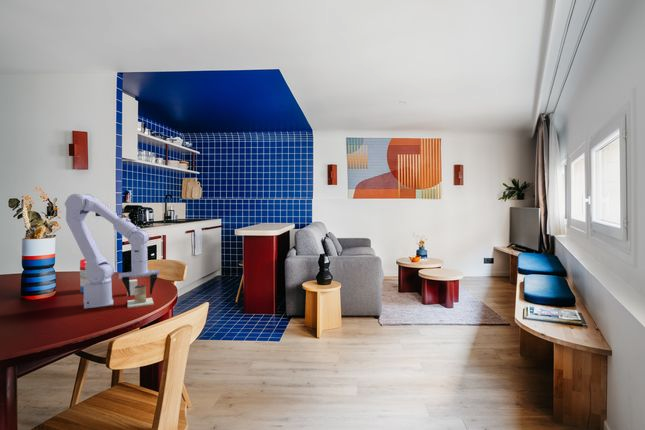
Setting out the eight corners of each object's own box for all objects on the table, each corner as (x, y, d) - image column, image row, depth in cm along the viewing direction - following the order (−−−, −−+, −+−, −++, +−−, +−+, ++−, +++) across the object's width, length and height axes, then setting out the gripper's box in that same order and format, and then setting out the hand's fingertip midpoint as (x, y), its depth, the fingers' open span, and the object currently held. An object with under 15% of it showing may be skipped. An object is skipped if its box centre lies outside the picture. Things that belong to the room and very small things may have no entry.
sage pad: (127, 307, 138) (127, 306, 138) (127, 302, 146) (127, 300, 146) (153, 304, 142) (153, 303, 142) (152, 299, 150) (152, 297, 150)
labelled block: (134, 303, 141) (134, 287, 141) (134, 301, 145) (134, 285, 145) (146, 302, 143) (145, 286, 143) (145, 299, 147) (145, 284, 147)
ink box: (90, 293, 160) (90, 260, 159) (80, 292, 160) (79, 260, 160) (103, 288, 169) (102, 257, 168) (92, 288, 169) (91, 257, 168)
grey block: (127, 295, 155) (126, 282, 155) (127, 293, 159) (126, 280, 159) (137, 294, 157) (137, 281, 157) (137, 292, 161) (137, 279, 161)
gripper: (158, 258, 150) (159, 290, 151) (118, 260, 143) (119, 294, 144) (160, 260, 144) (160, 294, 145) (118, 263, 137) (119, 299, 138)
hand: (140, 294), depth 144 cm, fingers open, 7 cm apart
